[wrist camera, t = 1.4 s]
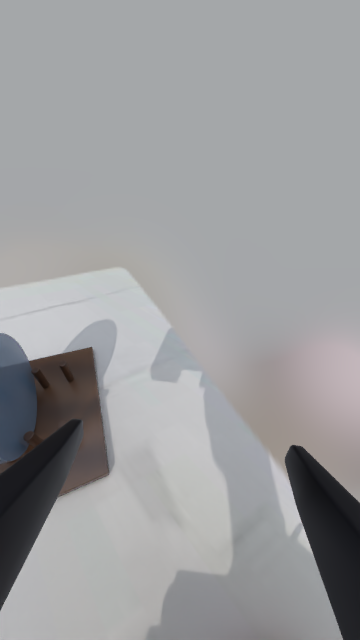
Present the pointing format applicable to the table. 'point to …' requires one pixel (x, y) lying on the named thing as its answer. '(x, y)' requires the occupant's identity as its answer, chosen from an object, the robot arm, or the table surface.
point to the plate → (15, 399)
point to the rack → (70, 412)
